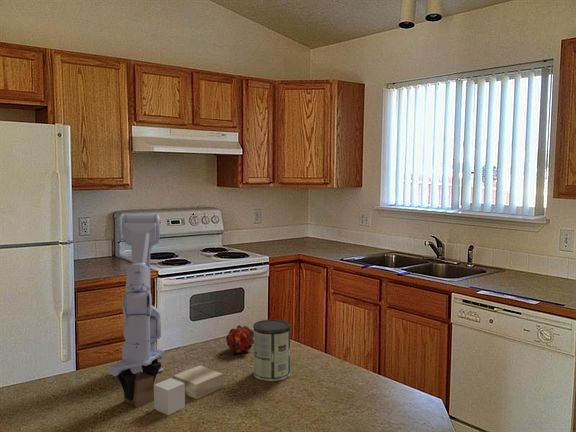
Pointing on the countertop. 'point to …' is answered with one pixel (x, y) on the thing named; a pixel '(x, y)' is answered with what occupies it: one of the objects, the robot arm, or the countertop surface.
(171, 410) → the off-white block
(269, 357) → the coffee can
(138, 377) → the walnut block
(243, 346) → the dragon fruit
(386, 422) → the countertop surface
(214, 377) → the birch base block
